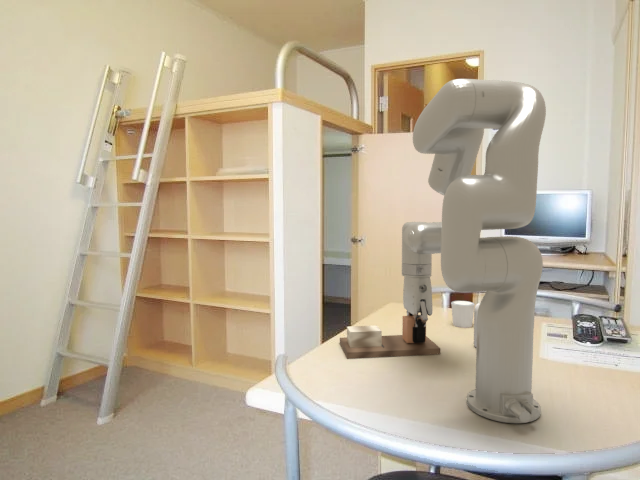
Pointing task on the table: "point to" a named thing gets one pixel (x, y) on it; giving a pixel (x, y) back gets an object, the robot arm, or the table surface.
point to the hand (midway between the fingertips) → (415, 338)
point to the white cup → (462, 313)
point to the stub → (409, 328)
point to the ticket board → (391, 348)
